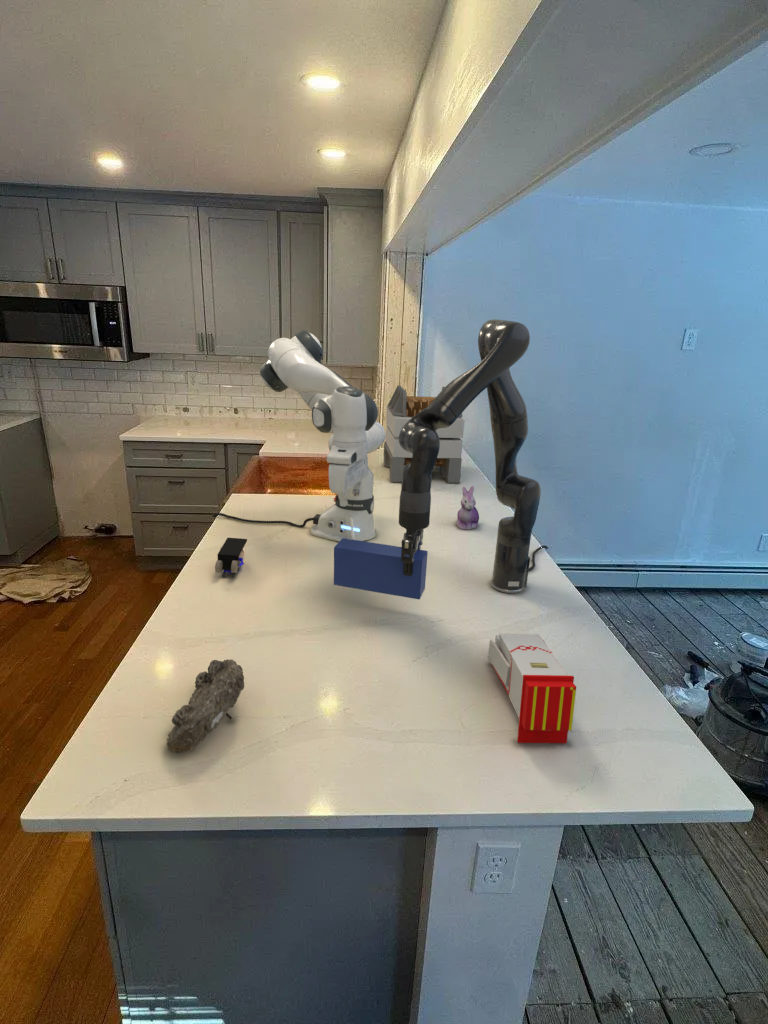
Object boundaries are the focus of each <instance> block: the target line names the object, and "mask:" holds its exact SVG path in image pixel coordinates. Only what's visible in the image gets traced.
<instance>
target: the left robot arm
mask: <svg viewBox="0 0 768 1024" xmlns="http://www.w3.org/2000/svg"><path fill="white" fill-rule="evenodd" d="M323 355H324V349H323V347H322V344H321V341H320V340H319V338H318V337H317V336H316V335H315V334H313V333H311V332H309V331H308V330H305V329H303V330H301V331H298V332H297V333H295V334H294V336H293V337H291V338H288V337H280V338H276V339H275V340H274V341H273V342H271V344H270V345H269V347H268V350H267V357H268V359H267V361H264V362H263V364H262V365H261V367H260V368H259V370H260V371H259V375H260V377H261V380H262V381H263V383H264V384H265V386H266V387H267V388H269V389H270V390H273V391H274V392H276V393H281V392H284V391H285V390H288V388H289V389H290V390H292V391H294V392H297V393H298V394H299V396H300V397H301V399H302V401H303V402H304V403H305V405H307V407H308V408H309V409H310V410H311V422H312V424H313V426H314V428H315V429H317V430H318V431H319V432H320V433H323V434H331V435H330V436H329V437H328V444H327V445H328V450H329V452H328V453H327V454H326V463H328V464H329V465H328V488H329V490H330V492H331V493H332V494H336V495H335V496H334V497H333V502H334V504H333V505H331V506H329V507H328V508H326V509H325V510H323V512H321V513H316V514H315V515H314V516H313V517H309V518H306V519H305V520H304V521H303V523H302V524H297V523H294V522H292V521H288V520H259V519H258V520H257V519H256V520H255V519H246V518H241V517H237V516H232V515H228V514H225V513H222V512H216V513H214V514H213V515H212V518H217V517H218V516H220V517H224V518H228V519H231V520H236V521H240V522H244V523H252V524H285V525H288V526H289V525H290V526H293V527H295V528H305V527H306V525H307V523H308V522H311V521H312V525H313V526H312V528H311V530H310V533H311V536H315V537H319V538H323V539H326V540H330V541H336V542H339V541H340V540H341V539H342V538H344V539H351V540H358V541H365V542H366V541H368V540H372V539H373V538H375V537H376V535H377V532H376V528H375V523H374V513H373V512H374V509H375V496H374V473H373V471H372V470H371V469H370V468H369V467H370V466H369V460H368V459H369V458H368V454H371V453H373V452H375V451H377V450H378V449H379V448H380V447H381V446H382V445H384V442H386V441H385V438H386V429H385V428H384V426H383V425H382V424H381V423H380V422H378V421H377V420H378V416H379V409H378V406H377V404H376V402H375V401H374V399H373V398H372V396H370V395H369V394H367V393H364V391H363V390H361V389H360V388H358V387H355V386H353V385H352V384H351V383H350V382H348V381H347V380H346V379H345V378H343V377H342V376H341V375H340V374H339V373H337V372H335V371H334V370H332V369H331V368H329V367H327V366H325V365H323V363H322V359H323Z"/></svg>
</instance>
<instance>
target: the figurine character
mask: <svg viewBox="0 0 768 1024" xmlns="http://www.w3.org/2000/svg"><path fill="white" fill-rule="evenodd" d="M247 542H248V538H240V537H226V539H225V541H224V543H223V544H222V546H221V547H220V549H219V551H218V552H217V560H216V562H215V564H214V572H215V573H221V577H222V578H224V577H225V576H226V574H227V573H230V574H231V573H232V574H231V578H234V577H235V575H236V573H237V572H239V571H240V567H242V566H243V565H244V564H245V562H244V558H245V551H244V547H245V546H246V544H247Z"/></svg>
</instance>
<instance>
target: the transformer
mask: <svg viewBox="0 0 768 1024" xmlns="http://www.w3.org/2000/svg"><path fill="white" fill-rule="evenodd" d="M445 387H446V386H442V387H441V391H442V390H443V389H444V388H445ZM407 394H408V393H407V390H406V389H404V388H403V387H402V385H399V384H398V385H397V386H396V388H395V390H394V392H393V394H392V395H391V398H390V400H389V402H388V404H387V405H386V413H385V414H386V415H385V423H386V428H385V441H384V443H383V466H384V467H388V468H389V475H388V476H389V477H388V478H389V480H390V482H391V483H402V471H403V468H404V466H405V465H407V464H409V463H411V461H412V456H413V454H412V453H410V452H408V451H406V450H404V449H403V448H402V447H401V446H400V444H399V434H400V431H401V429H402V428H403V426H404V425H405V424H406V423H407V422H408V421H409V420H410V419H411V418H413V417H414V416H415V415H417V414H418V413H419V412H420V411H422V410H423V409H425V408H426V407H428V406H429V405H430V404H431V403H432V401H433V400H434V399H435V398H436V397H437V396H415V395H414V396H413V395H412V396H411V395H407ZM464 429H465V419H464V418H463V413H462V414H461V415H460V416H459V417H458V418H457V419H456V421H455V422H454V423H453V424H452V425H451V426H449V427H447V428H439V429H437V430H436V432H437V434H438V436H439V441H440V448H439V453H438V456H437V459H436V463H435V466H434V467H436V468H437V470H438V469H439V473H440V474H441V475H443V478H444V479H445V481H446V482H447V483H449V484H455V483H456V484H459V483H461V472H462V461H463V460H462V453H463V442H464V441H463V440H462V439H463V438H464V431H465V430H464Z"/></svg>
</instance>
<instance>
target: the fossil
mask: <svg viewBox="0 0 768 1024" xmlns="http://www.w3.org/2000/svg"><path fill="white" fill-rule="evenodd" d="M243 670H244V669H243V667H242V665H240V664H237V662H236V661H235V660H234V659H232V658H231V659H227V658H226V659H224V660H223V661H222V660H217V659H212V660H211V661H210V663H209V665H208V666H207V671H201V672H199V673H198V674H197V675H196V676H195V680H194V684H195V685H194V687H195V689H194V690H193V693H192V694H191V697H190V698H189V700H188V704H184V705H182V706H181V707H180V709H177V710H176V711H175V713H174V715H173V716H172V718H171V723H172V724H173V727H172V730H171V731H170V732H168V734H167V738H166V741H167V742H166V745H167V749H168V750H169V751H173V752H174V753H176V754H178V753H182V752H188V751H189V752H192V751H193V750H195V748H196V747H197V746H199V744H200V743H201V742H203V741H204V740H205V739H206V738H207V737H208V736H209V735H210V734H211V733H212V732H214V730H215V729H217V727H218V726H219V724H220V722H221V721H222V720H223V719H224V718H225V716H226V717H227V719H229V720H233V717H232V715H230V714H229V710H230V709H231V708H234V706H235V704H236V703H237V702H238V699H239V697H240V695H241V693H242V691H243V690H245V689H244V688H245V675H244V671H243Z"/></svg>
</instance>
